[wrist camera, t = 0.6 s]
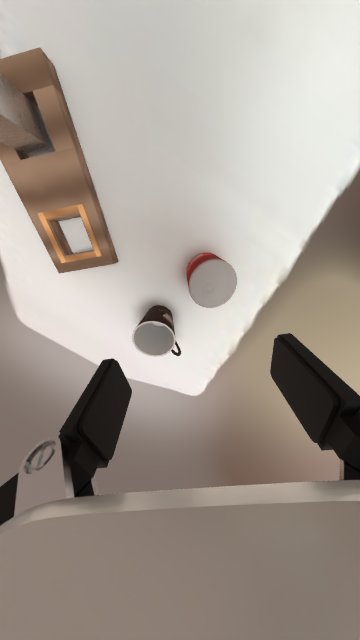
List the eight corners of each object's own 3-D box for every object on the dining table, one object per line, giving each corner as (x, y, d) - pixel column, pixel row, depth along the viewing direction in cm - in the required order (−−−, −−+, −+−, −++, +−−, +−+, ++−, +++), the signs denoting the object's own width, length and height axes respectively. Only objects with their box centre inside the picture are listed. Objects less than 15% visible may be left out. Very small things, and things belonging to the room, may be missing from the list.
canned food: (182, 285, 37) (183, 303, 27) (191, 248, 33) (196, 254, 23) (214, 292, 37) (226, 312, 28) (226, 256, 34) (245, 266, 24)
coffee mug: (137, 306, 39) (124, 327, 30) (170, 297, 38) (167, 316, 29) (153, 342, 44) (147, 369, 36) (183, 336, 43) (184, 362, 35)
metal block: (17, 120, 24) (-75, 55, 16) (44, 112, 24) (-34, 43, 15) (34, 159, 26) (-38, 122, 18) (59, 153, 26) (-2, 112, 17)
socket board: (-23, 88, 23) (-48, 70, 20) (54, 66, 22) (38, 44, 19) (66, 270, 35) (57, 273, 33) (118, 261, 34) (113, 263, 32)
